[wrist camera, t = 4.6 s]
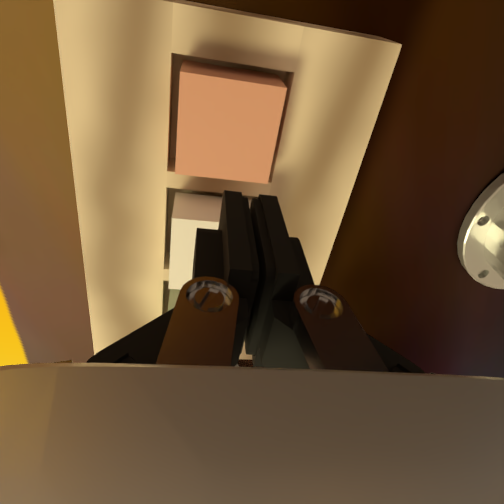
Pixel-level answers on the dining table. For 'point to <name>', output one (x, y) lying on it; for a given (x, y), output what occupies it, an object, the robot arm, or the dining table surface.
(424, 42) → the dining table surface
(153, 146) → the keypad base
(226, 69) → the terracotta key
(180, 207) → the offwhite key
